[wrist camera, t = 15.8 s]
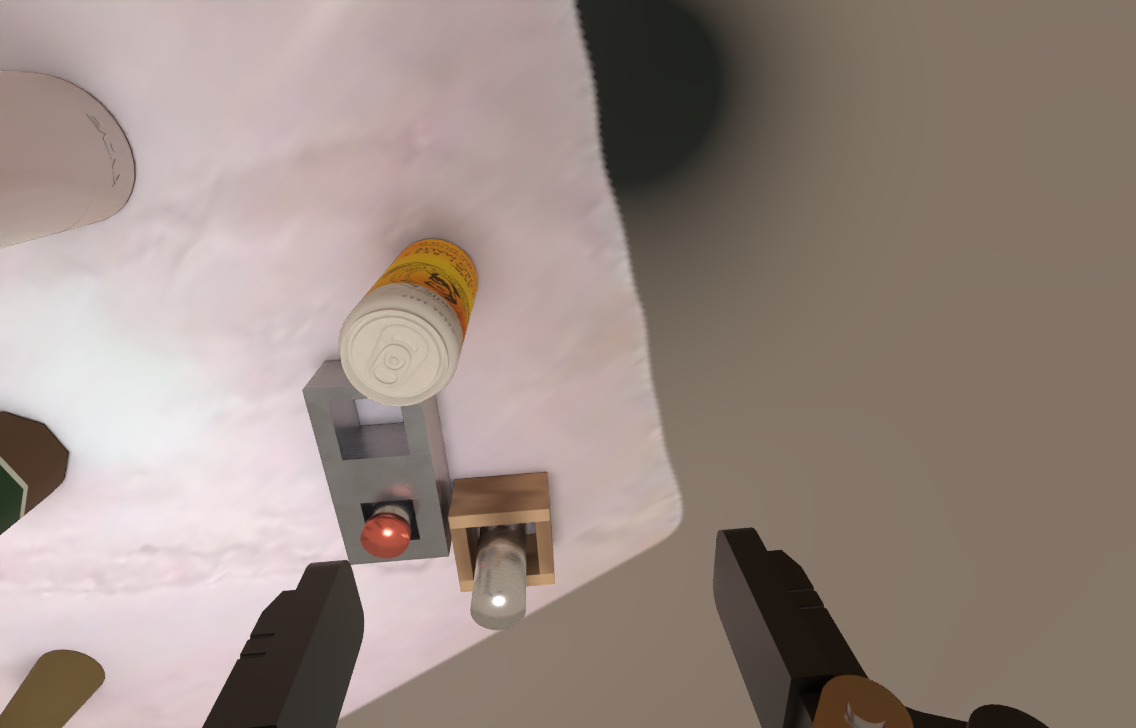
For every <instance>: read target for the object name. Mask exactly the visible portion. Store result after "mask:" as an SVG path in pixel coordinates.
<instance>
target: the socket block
mask: <svg viewBox="0 0 1136 728" xmlns="http://www.w3.org/2000/svg"><path fill="white" fill-rule="evenodd" d="M302 391H303V394H304V398H305V402H306V405H307V409H308V413H309V416H310V420H311V424H312V427H313V431H314V435H315V438H316V442H317V446H318V449H319V453H320V457H321V460H322V464H323V468H324V471H325V475H326V479H327V482H328V486H329V490H330V493H331V497H332V501H333V504H334V508H335V512H336V515H337V519H338V523H339V526H340V530H341V534H342V537H343V541H344V545H345V548H346V552H347V556H348V559H349V563H350V565H354V564H366V563H378V562H389V561H401V560H413V559H425V558H436V557H448V556H449V552H450V546H451V540H452V536H451V530H450V524H449V519H448V516H449V510H450V505H451V500H452V491H451V485H450V479H449V473H448V467H447V461H446V455H445V449H444V443H443V437H442V430H441V424H440V418H439V412H438V406H437V400H436V394H435V395H433V396H431V397H429V398H428V399H426V400H424V401H422V402H419V403H417V404H413V405H408V406H401V410H402V415H403V420H404V423H394V424H381V425H368V426H360V423H359V418H358V414H357V410H356V406H355V401H354V399H364V398H368V397H366V396H365V395H363V394H362V393H360V392H359V391H358V390H357V389H356V388H355V387H354V386H353V385H352V384H351V382H350V381H349V379H348V378H347V376H346V374H345V372H344V370H343V367H342V363H341V360H332V361H325V362H324V363H323V364H322V366H321V367H320V368H319V370H318V371H317V372H316V373H315V375H314V376H313V377H312V378H311V380H310V381H309V382H308V384H307V385H306V386H305V387H304V389H303V390H302ZM409 499H412V500H413V505H414V513H413V516H412V520H411V523H410V526H411V530H412V534H411V538H410V542H409V546H408V548H407V549H406V551H405V552H404V553H402V554H401V555H399V556H397V557H394V558H379V557H376V556H373V555H371V554H370V553H368V552H367V551H366V550H365V549H364V548H363V546H362V544H361V540H360V537H361V533H362V530H363V528H364V525H365V523H366V521H367V520H368V519H369V518H370V517H371V516H372V515H373V513H374V510H375V507H376V505H377V502H384V501H396V500H409Z"/></svg>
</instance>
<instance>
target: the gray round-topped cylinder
mask: <svg viewBox="0 0 1136 728" xmlns="http://www.w3.org/2000/svg"><path fill="white" fill-rule="evenodd" d="M526 556H527V523H517V524H505V525H493V526H481V528H480V536H479V544H478V553H477V561H476V569H475V577H474V585H473V593H472V601H471V609H470V612H471V616H472V618H473V619H474V621H475V622H476V623H477V624H479V625H480V626H482V627H484V628H487V629H491V630H505V629H509V628H511V627H514V626H515V625H517V624H518V623H520V622H521V621H522V619H523V618H524V616H525V612H526Z"/></svg>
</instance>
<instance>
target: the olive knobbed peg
mask: <svg viewBox="0 0 1136 728" xmlns="http://www.w3.org/2000/svg"><path fill="white" fill-rule="evenodd" d="M104 679H105V672H104V670H103V668H102V667H101V665H100V664H99V663H98V662H97V661H96V660H94V659H93V658H91V657H89V656H87V655H85V654H83V653H79V652H76V651H70V650H55V651H51V652H48V653H45V654H44V655H43V656H42V657H40V658H39V660H38V661H37V663H36V664H35V665H34V667H33V668H32V670H31V671H30V673H29V674H28V676H27V677H26V679H25V680H24V681H23V683H22V684H21V686H20V687H19V689H18V690H17V692H16V693H15V695H14V696H13V698H12V699H11V700H10V702H9V703H8V705H7V706H6V708H5V709H4V711H3V712H2V714H1V715H0V728H62V727H63V726H64V725H65V724H66V723H67V722H68V720H69V719H70V718H71V717H72V716H73V715H74V714H75V713H76V712H77V711H78V710H79V709H80V708H81V706H82V705H83V704H84V703H85V702H86V701H87V700H88V699H89V698H90V697H91V696H92V695H93V693H94V692H95V691H96V690H97V689H98V688H99V687H100V686H101V685H102V683H103V681H104Z"/></svg>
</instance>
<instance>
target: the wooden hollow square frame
mask: <svg viewBox="0 0 1136 728" xmlns="http://www.w3.org/2000/svg"><path fill="white" fill-rule="evenodd" d="M448 519H449V524H450V530H451V536H452V542H453V548H454V554H455V560H456V565H457V571H458V577H459V583H460V589H461V592H468V591H473V585H474V577H475V569H476V561H477V553H478V544H479V539H478V535H477V528H476V527H481V526H493V525H505V524H517V523H529V522H535V525H536V534H533V535H527V556H526V586H536V585H547V584H555V576H554V559H553V543H552V530H551V517H550V504H549V491H548V478H547V472H541V473H529V474H516V475H504V476H491V477H479V478H466V479H455V484H454V489H453V495H452V500H451V505H450V510H449V516H448Z"/></svg>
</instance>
